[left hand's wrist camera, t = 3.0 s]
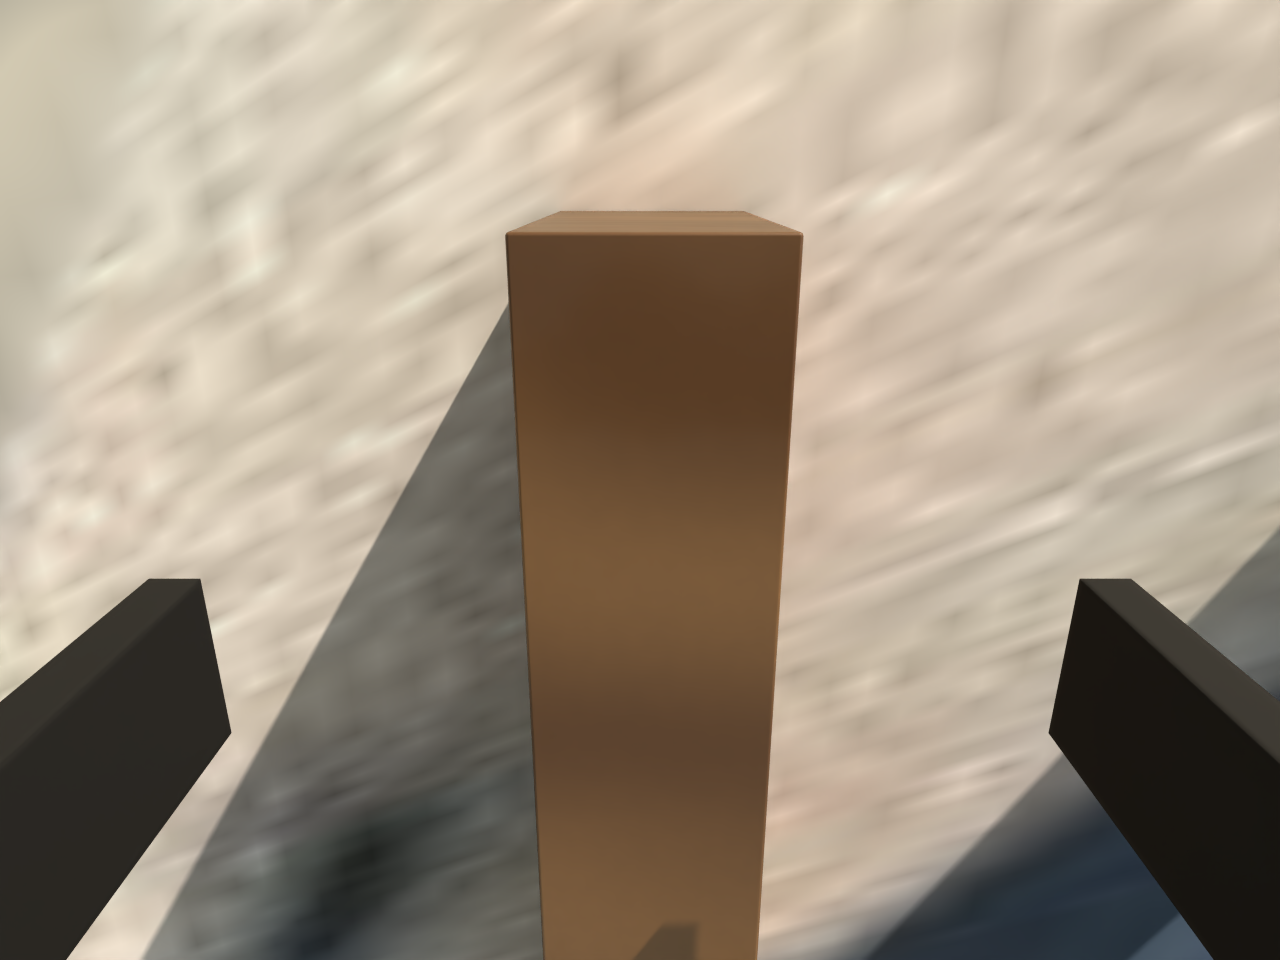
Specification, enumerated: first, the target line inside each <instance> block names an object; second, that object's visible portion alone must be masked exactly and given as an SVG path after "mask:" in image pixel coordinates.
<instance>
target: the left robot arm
mask: <svg viewBox="0 0 1280 960" xmlns="http://www.w3.org/2000/svg"><path fill="white" fill-rule="evenodd" d="M230 734H231V728H230V723H229V719H228V714H227V709H226V704H225V699H224V694H223V689H222V684H221V679H220V674H219V669H218V664H217V659H216V654H215V649H214V644H213V639H212V634H211V629H210V624H209V619H208V615H207V610H206V605H205V600H204V595H203V590H202V585H201V580H200V579H148V580H147V581H146V582H145V583H143V584H142V585H141V586H140V587H138V588H137V589H136V590H135V591H134V592H132V593H131V594H130V595H129V596H128V597H126V598H125V599H124V600H123V601H122V602H120V603H119V604H118V605H117V606H116V607H114V608H113V609H112V610H111V611H110V612H108V613H107V614H106V615H105V616H103V617H102V618H101V619H100V620H99V621H97V622H96V623H95V624H94V625H93V626H91V627H90V628H89V629H88V630H87V631H85V632H84V633H83V634H82V635H81V636H79V637H78V638H77V639H76V640H75V641H73V642H72V643H71V644H70V645H68V646H67V647H66V648H65V649H64V650H62V651H61V652H60V653H59V654H58V655H56V656H55V657H54V658H53V659H52V660H50V661H49V662H48V663H47V664H46V665H44V666H43V667H42V668H41V669H40V670H38V671H37V672H36V673H35V674H33V675H32V676H31V677H30V678H29V679H27V680H26V681H25V682H24V683H23V684H21V685H20V686H19V687H18V688H17V689H15V690H14V691H13V692H12V693H11V694H9V695H8V696H7V697H6V698H5V699H3V700H2V701H1V702H0V960H66V959H67V958H68V957H69V955H70V954H71V952H72V951H73V950H74V948H75V947H76V946H77V944H78V943H79V941H80V940H81V939H82V937H83V936H84V935H85V933H86V932H87V930H88V929H89V928H90V926H91V925H92V924H93V922H94V921H95V919H96V918H97V917H98V915H99V914H100V913H101V911H102V910H103V909H104V907H105V906H106V904H107V903H108V902H109V900H110V899H111V898H112V896H113V895H114V893H115V892H116V891H117V889H118V888H119V887H120V885H121V884H122V882H123V881H124V880H125V878H126V877H127V876H128V874H129V873H130V871H131V870H132V869H133V867H134V866H135V865H136V863H137V862H138V860H139V859H140V858H141V856H142V855H143V854H144V852H145V851H146V849H147V848H148V847H149V845H150V844H151V843H152V841H153V840H154V838H155V837H156V836H157V834H158V833H159V832H160V830H161V829H162V828H163V826H164V825H165V823H166V822H167V821H168V819H169V818H170V817H171V815H172V814H173V812H174V811H175V810H176V808H177V807H178V806H179V804H180V803H181V801H182V800H183V799H184V797H185V796H186V795H187V793H188V792H189V790H190V789H191V788H192V786H193V785H194V784H195V782H196V781H197V779H198V778H199V777H200V775H201V774H202V773H203V771H204V770H205V768H206V767H207V766H208V764H209V763H210V762H211V760H212V759H213V758H214V756H215V755H216V753H217V752H218V751H219V749H220V748H221V747H222V745H223V744H224V742H225V741H226V740H227V738H228V737H229V736H230ZM1049 734H1050V736H1051V737H1052V738H1053V740H1054V741H1055V742H1056V744H1057V745H1058V747H1059V748H1060V749H1061V751H1062V752H1063V753H1064V755H1065V756H1066V758H1067V759H1068V760H1069V762H1070V763H1071V764H1072V766H1073V767H1074V768H1075V770H1076V771H1077V773H1078V774H1079V775H1080V777H1081V778H1082V779H1083V781H1084V782H1085V784H1086V785H1087V786H1088V788H1089V789H1090V790H1091V792H1092V793H1093V795H1094V796H1095V797H1096V799H1097V800H1098V801H1099V803H1100V804H1101V806H1102V807H1103V808H1104V810H1105V811H1106V812H1107V814H1108V815H1109V817H1110V818H1111V819H1112V821H1113V822H1114V823H1115V825H1116V826H1117V828H1118V829H1119V830H1120V832H1121V833H1122V834H1123V836H1124V837H1125V839H1126V840H1127V841H1128V843H1129V844H1130V845H1131V847H1132V848H1133V849H1134V851H1135V852H1136V854H1137V855H1138V856H1139V858H1140V859H1141V860H1142V862H1143V863H1144V865H1145V866H1146V867H1147V869H1148V870H1149V871H1150V873H1151V874H1152V876H1153V877H1154V878H1155V880H1156V881H1157V882H1158V884H1159V885H1160V887H1161V888H1162V889H1163V891H1164V892H1165V893H1166V895H1167V896H1168V898H1169V899H1170V900H1171V902H1172V903H1173V904H1174V906H1175V907H1176V909H1177V910H1178V911H1179V913H1180V914H1181V915H1182V917H1183V918H1184V919H1185V921H1186V922H1187V924H1188V925H1189V926H1190V928H1191V929H1192V930H1193V932H1194V933H1195V935H1196V936H1197V937H1198V939H1199V940H1200V941H1201V943H1202V944H1203V946H1204V947H1205V948H1206V950H1207V951H1208V952H1209V954H1210V955H1211V957H1212V958H1213V959H1214V960H1280V702H1279V701H1278V700H1277V699H1275V698H1274V697H1273V696H1272V695H1271V694H1269V693H1268V692H1267V691H1266V690H1265V689H1263V688H1262V687H1261V686H1260V685H1259V684H1257V683H1256V682H1255V681H1254V680H1253V679H1251V678H1250V677H1249V676H1248V675H1247V674H1245V673H1244V672H1243V671H1242V670H1240V669H1239V668H1238V667H1237V666H1236V665H1234V664H1233V663H1232V662H1231V661H1230V660H1228V659H1227V658H1226V657H1225V656H1224V655H1222V654H1221V653H1220V652H1219V651H1218V650H1216V649H1215V648H1214V647H1213V646H1212V645H1210V644H1209V643H1208V642H1207V641H1205V640H1204V639H1203V638H1202V637H1201V636H1199V635H1198V634H1197V633H1196V632H1195V631H1193V630H1192V629H1191V628H1190V627H1189V626H1187V625H1186V624H1185V623H1184V622H1183V621H1181V620H1180V619H1179V618H1178V617H1177V616H1175V615H1174V614H1173V613H1172V612H1170V611H1169V610H1168V609H1167V608H1166V607H1164V606H1163V605H1162V604H1161V603H1160V602H1158V601H1157V600H1156V599H1155V598H1154V597H1152V596H1151V595H1150V594H1149V593H1148V592H1146V591H1145V590H1144V589H1143V588H1142V587H1140V586H1139V585H1138V584H1137V583H1135V582H1134V581H1133V580H1132V579H1080V580H1079V585H1078V590H1077V595H1076V600H1075V605H1074V610H1073V615H1072V619H1071V624H1070V629H1069V634H1068V639H1067V644H1066V649H1065V654H1064V659H1063V664H1062V669H1061V674H1060V679H1059V684H1058V689H1057V694H1056V699H1055V704H1054V709H1053V714H1052V719H1051V723H1050V728H1049Z"/></svg>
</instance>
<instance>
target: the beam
mask: <svg viewBox="0 0 1280 960" xmlns="http://www.w3.org/2000/svg"><path fill="white" fill-rule="evenodd" d="M505 240H506V259H507V278H508V297H509V316H510V335H511V354H512V373H513V392H514V411H515V430H516V449H517V468H518V487H519V506H520V525H521V544H522V562H523V581H524V600H525V619H526V638H527V657H528V676H529V695H530V714H531V733H532V752H533V771H534V790H535V809H536V828H537V847H538V866H539V885H540V904H541V923H542V942H543V960H757V951H758V936H759V920H760V905H761V889H762V874H763V858H764V842H765V827H766V811H767V796H768V780H769V764H770V749H771V733H772V718H773V702H774V686H775V671H776V655H777V640H778V624H779V609H780V593H781V577H782V562H783V546H784V531H785V515H786V499H787V484H788V468H789V453H790V437H791V421H792V406H793V390H794V375H795V359H796V344H797V328H798V312H799V297H800V281H801V266H802V250H803V233H801V232H798V231H796V230H793V229H790V228H788V227H785V226H782V225H780V224H777V223H774V222H771V221H769V220H766V219H763V218H761V217H758V216H755V215H753V214H750V213H747V212H744V211H560V212H557V213H555V214H552V215H550V216H547V217H545V218H542V219H540V220H537V221H535V222H532V223H530V224H527V225H525V226H522V227H520V228H517V229H515V230H512V231H510V232H507V233H506V235H505Z"/></svg>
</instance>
